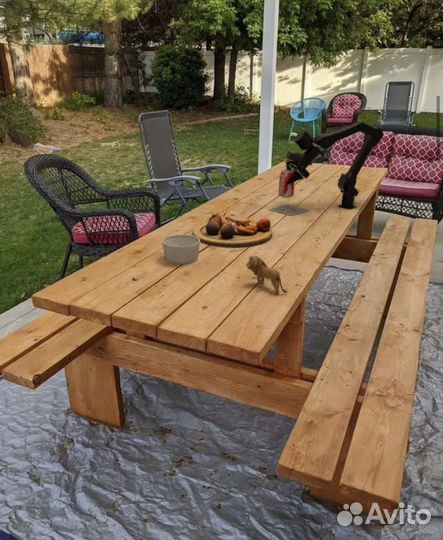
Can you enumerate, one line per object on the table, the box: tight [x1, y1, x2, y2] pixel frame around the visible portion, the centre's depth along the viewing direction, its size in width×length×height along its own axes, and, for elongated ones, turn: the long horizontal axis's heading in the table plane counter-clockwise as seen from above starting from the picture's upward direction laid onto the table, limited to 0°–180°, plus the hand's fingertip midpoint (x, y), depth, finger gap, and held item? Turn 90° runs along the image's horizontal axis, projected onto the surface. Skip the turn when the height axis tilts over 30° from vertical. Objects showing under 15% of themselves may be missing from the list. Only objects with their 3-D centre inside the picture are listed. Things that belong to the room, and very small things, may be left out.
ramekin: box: [161, 233, 201, 265], centre depth 171 cm, size 13×13×7 cm
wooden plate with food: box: [192, 212, 273, 248], centre depth 196 cm, size 32×32×8 cm
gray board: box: [268, 204, 312, 217], centre depth 231 cm, size 14×14×1 cm
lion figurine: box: [245, 255, 288, 295], centre depth 148 cm, size 15×5×9 cm, turn 50°
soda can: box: [278, 169, 296, 199], centre depth 227 cm, size 7×7×12 cm
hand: (284, 182), depth 227 cm, fingers closed on soda can, 7 cm apart
